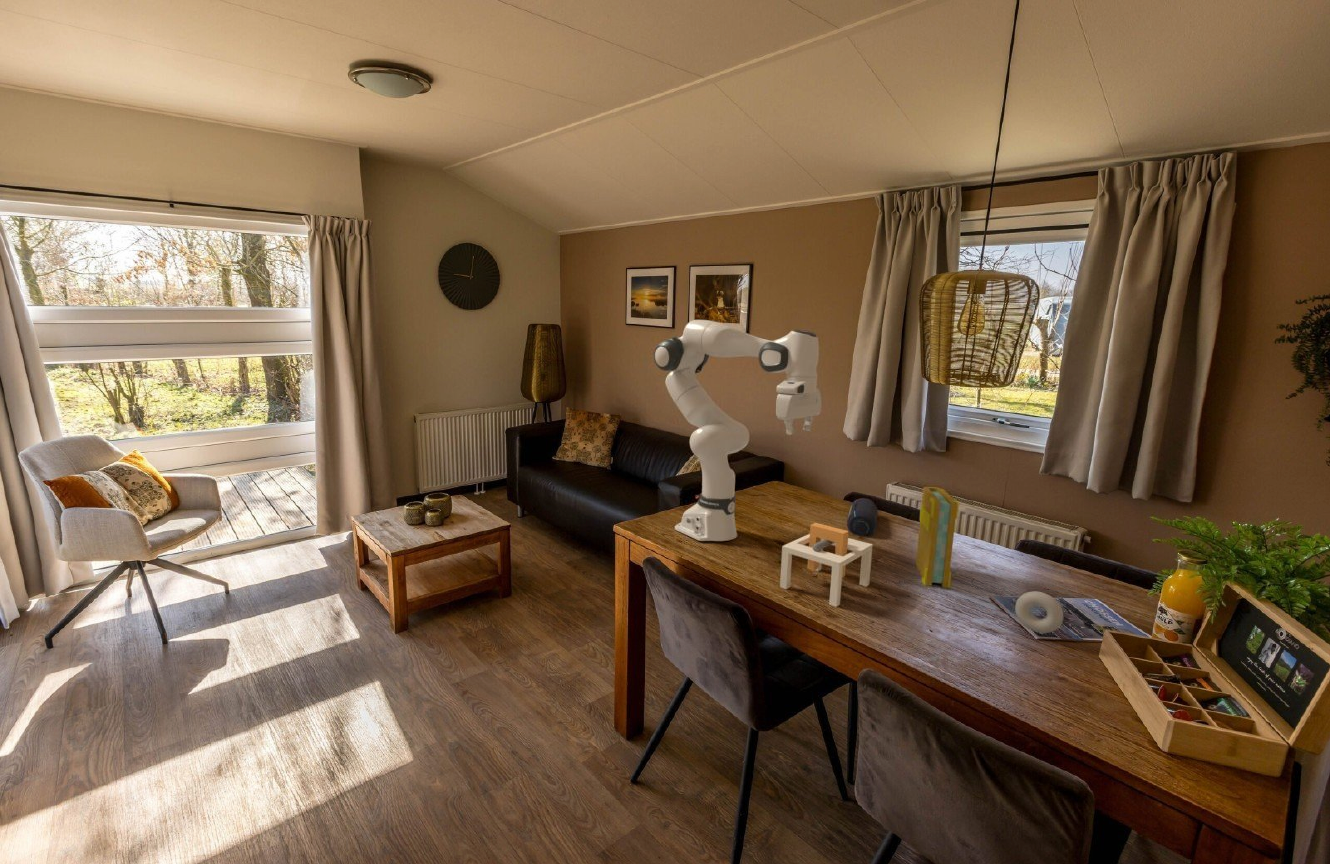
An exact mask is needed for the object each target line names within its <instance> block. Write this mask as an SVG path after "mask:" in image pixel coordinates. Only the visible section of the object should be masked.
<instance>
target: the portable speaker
mask: <svg viewBox="0 0 1330 864" xmlns="http://www.w3.org/2000/svg"><path fill="white" fill-rule="evenodd" d="M878 513H879V511H878V506H877V505H876V503H874V501H873V500H871V499H870V498H866V497H861V498H857V499H855V500H854V501H853V502H852V503H851V505H850V507H849V511H848V515H847V520H846V527H847V529H848V530H847V531H849V532H850V533H851V534H852V533H853V534H852V535H855V536H856V535H857V536H862V537H868V538H869V537H872V536H873V535H874V533H875V532H876V529H877V526H878V525H877V524H878Z"/></svg>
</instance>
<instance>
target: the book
mask: <svg viewBox="0 0 1330 864" xmlns="http://www.w3.org/2000/svg"><path fill="white" fill-rule="evenodd" d="M959 507H960V502H959V501H958V500H957V499H956V498H953V497H952V496H951V495H950V494H949V493H948V492H947V491H946V490H945V489H943V488H941V487H936V486H934V487H933V486H925V487H923V489H922V497H921V504H920V509H919V527H918V528H919V529H918V538H917V549H916V558H915V565H916V568H917V570H918V572H919V574H920V576H921V582H922V584H923V586H924V587H925V586H927V587H932V586H933V585H932V584H933V583H935V584H940V586H941V588H943V589H944V588H945V589H950V588H951V582H952V581H951V580H952V571H951V564H952V563H951V561H952V554H953V545H954V544H953V543H954V537H955V526H956V520H958V515H959Z"/></svg>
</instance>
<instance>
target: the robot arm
mask: <svg viewBox="0 0 1330 864" xmlns="http://www.w3.org/2000/svg"><path fill="white" fill-rule="evenodd" d="M819 351H820V347H819V338H818V336H817V334H816V333H814V332H812V331H809V330H802V329H792V330H791V331H789V333H788V334H786V335H784V336H782V337H780V338H778V339H777V338H776V339H774V340H771V339H766V338H764V337H758V336H755V335H752V334H749V333H747V332H744V331H742V330H739V329H738V328H735V327H732V326H730V325H726V324H724V323H721V322H718V321H714V320H707V319H693V320H690V321H689V322H688V323H686V325H685V326H684V329H683V333H682V335H681V336H680V337H676V336H673V337H670V338H668V339H665V340H664V341H661V342H660V343H658V344H657V345H656V347H655V348H654V351H653V359H654V363H655V365H656V367H657V368H659V369H660V370H662V371H664V372H669V373H668V375H667V376H666V378H665V387H666V389H667V392H668V394H669V395H670V397H671V398H672V400H673V403H674V404H675V405H676V407H677V409H679V411H680V412H681V413H682V416H683V418H685V419H686V421H687V422H688V423H689V424H690V425H692V426H695V427H697V429H696V430H694V431H693V432H692V433H691V435H690V438H689V447H690V450H691V452H692V453H693V454H694V456H696V457H697V459H698V461H699V464H700V467H701V475H702V476H701V477H702V481H701V486H702V487H701V493H699V494H696V495H695V499H696V500H697V502H696V504H694V505H692V506H691V507H690V508H689V507H688V509H686V510H685V511H684V512H683V514H682V516H681V521H680V522H679V523H676V524H675V526H674V530H675V531H677V532H679V533H682V534H683V535H686V536H689V537H690V538H693V539H695V540H696V541H700V542H705V541H706V542H711V541H712V542H713V541H714V542H724V541H727V542H728V541H731V540H734V539H736V538H737V537H738V533H737V532H738V531H737V528H736V520H735V510H736V495H735V487H736V486H735V485H736V474H735V472H734V470H733V469H732V468H731V467H730V464H729V461H728V455H731V454H734V453H738V452H739V451H741V450H743V449H745V447H746V446H747V445H748V444H749V441H750V432H749V429H748V428H747V427H746V425H744V424H743V423H741V422H739V421H737V420H735V419H734V418H732V417H731V416H729V414H727V413H726V412H725V411H724V410H722V409H721V408H720V406H718V405H717V404H716V403H715V402H714V401H713V399H712V398H711V397H710V395H709V394H708V393H707V391H706V389H704V388H703V386H702V385H701V383H700V382H699V381H698V379H697V378H696V374H698V373H700V372H702V370H703V367H704V366H706V363H707V362H708V361H709V358H710V357H716V358H738V357H739V358H740V357H754V358H758V364H759V366H760V367H761V369H762V370H763V371H765V372H768V373H771V374H779V373H780V374H783V373H786V375H785V376H786V377H785V379H784V380H783V381H782V382H781V383H778V385H776V393H778V394H777V397H776V401H775V403H776V405H775V415H776V417H777V419H778V420H782V421H783V423H784V426H785V434H786V435H790V436H791V435H794V433H795V428H793V424H794V420H797V419H802V418H804V424H802V431H803V432H809V431H811V425H812V423H813V421H814V416H815V417H816V416H819V415H820V414H821V412H822V395H821V391H820V389H819V387H818V385H817V383H818V372H817V368H818V363H819V355H820V354H819Z"/></svg>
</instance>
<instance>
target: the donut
mask: <svg viewBox="0 0 1330 864" xmlns="http://www.w3.org/2000/svg"><path fill="white" fill-rule="evenodd" d="M1036 606H1038V607H1042V609H1044V610H1045V611H1046V615H1045V617H1044V618H1039V617H1036V616H1035V615H1034V614H1033V612H1032V608H1033V607H1036ZM1014 608H1015V610H1014V611H1015V614H1016V616H1017V619H1018V620H1019V622H1020V623H1021V625H1023V626H1024V627H1025V628H1027V629H1028V630H1030V631H1033V632H1036V633H1041V634H1046V633H1047V634H1048V633H1052V632H1055V631H1057V630H1058V629H1059V628H1060V627H1061V626H1062V625H1063V622H1064V621H1063V620H1064V611H1063V608H1062V606H1061V604H1060V603H1059V602H1058V601H1057V600H1056V598H1054V597H1053V596H1051V595H1049V594H1048V593H1045V592H1043V591H1042V592H1041V591H1038V590H1037V591H1036V590H1035V591H1034V590H1033V591H1028V592H1025V593H1023V594H1021V595H1020V596H1019V598H1018V599H1016V603H1015V606H1014Z"/></svg>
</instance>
